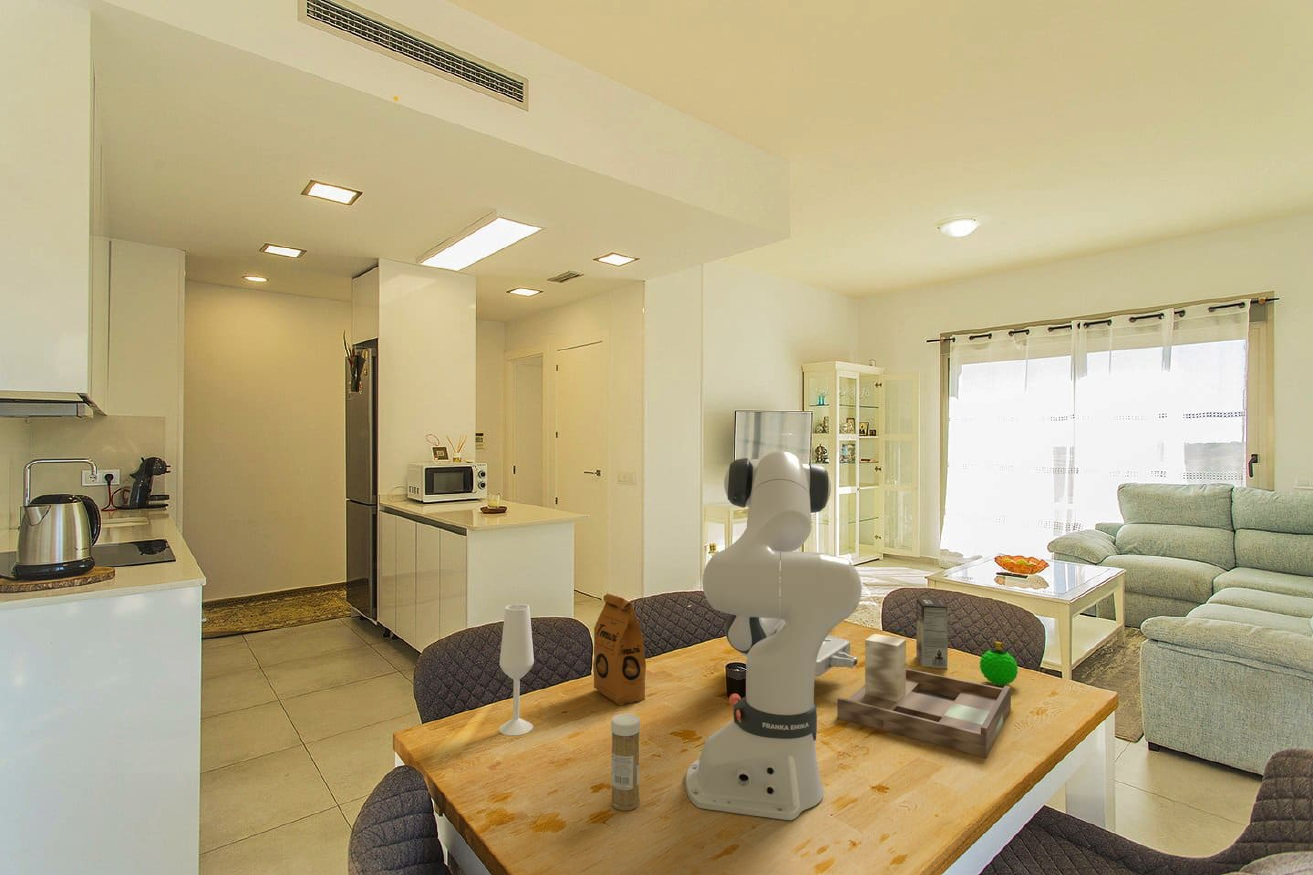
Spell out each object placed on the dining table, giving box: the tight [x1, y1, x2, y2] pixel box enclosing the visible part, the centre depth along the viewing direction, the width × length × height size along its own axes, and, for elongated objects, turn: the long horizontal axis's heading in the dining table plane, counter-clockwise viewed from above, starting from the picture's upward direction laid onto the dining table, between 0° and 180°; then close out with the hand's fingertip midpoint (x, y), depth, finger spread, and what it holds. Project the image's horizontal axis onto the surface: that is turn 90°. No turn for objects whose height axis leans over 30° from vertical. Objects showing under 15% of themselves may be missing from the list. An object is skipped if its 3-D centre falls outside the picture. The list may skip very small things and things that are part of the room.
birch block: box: [864, 633, 907, 702], centre depth 142 cm, size 7×6×12 cm
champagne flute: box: [498, 603, 535, 736], centre depth 128 cm, size 7×7×24 cm
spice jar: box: [610, 712, 641, 812], centre depth 101 cm, size 5×5×14 cm
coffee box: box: [915, 597, 949, 670], centre depth 169 cm, size 9×6×16 cm
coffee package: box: [592, 592, 647, 706], centre depth 145 cm, size 10×12×22 cm
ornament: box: [979, 641, 1019, 686], centre depth 154 cm, size 8×8×10 cm
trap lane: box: [836, 667, 1012, 758], centre depth 137 cm, size 28×28×5 cm
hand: (855, 662), depth 146 cm, fingers closed
